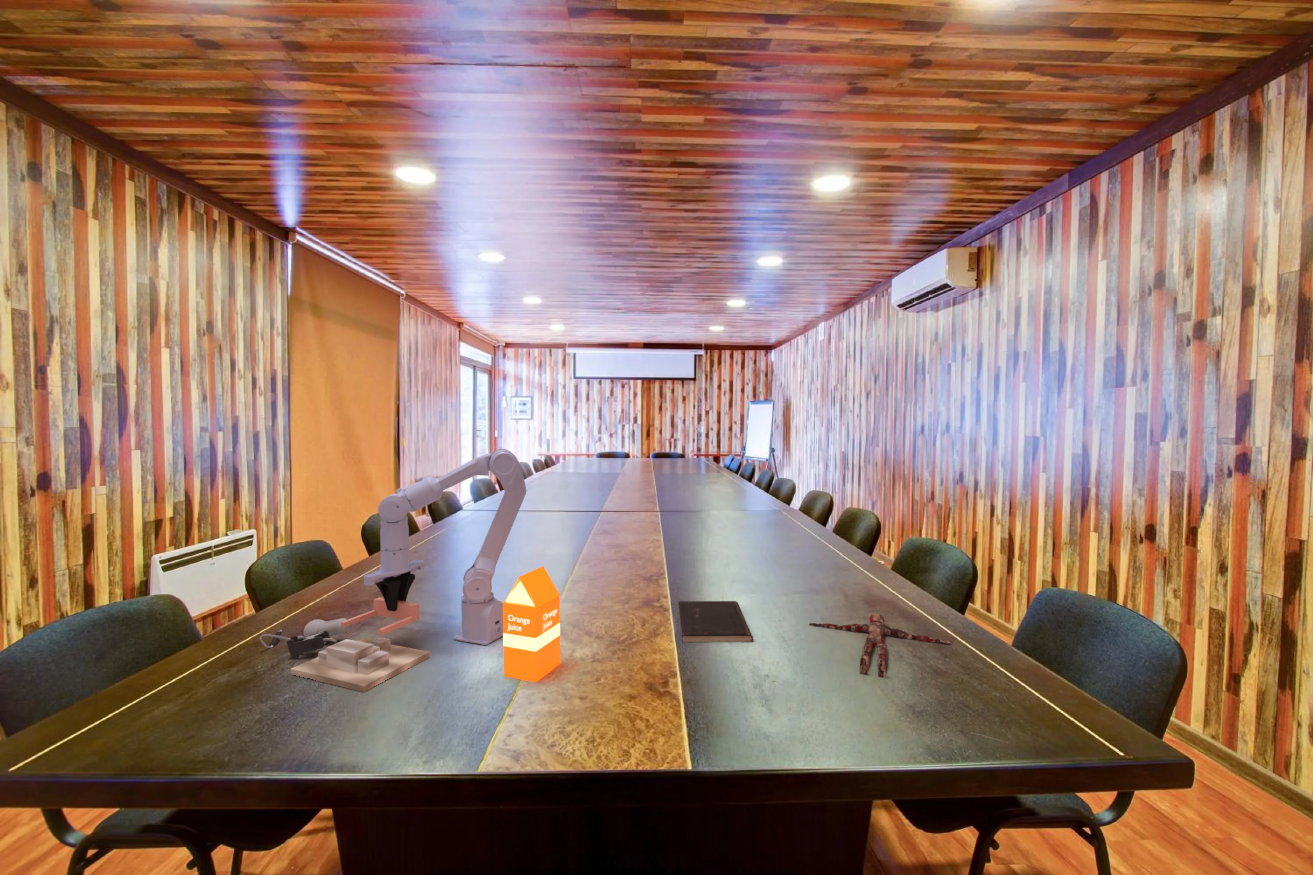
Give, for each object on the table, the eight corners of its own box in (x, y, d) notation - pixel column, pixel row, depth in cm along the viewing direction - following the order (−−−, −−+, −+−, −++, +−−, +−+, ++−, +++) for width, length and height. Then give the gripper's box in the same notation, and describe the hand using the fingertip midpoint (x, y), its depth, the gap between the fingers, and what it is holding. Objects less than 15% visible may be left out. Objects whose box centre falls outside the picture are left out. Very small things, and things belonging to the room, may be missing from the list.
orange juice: (503, 675, 107) (501, 575, 106) (529, 657, 115) (528, 564, 114) (537, 682, 104) (535, 579, 103) (561, 663, 112) (560, 567, 111)
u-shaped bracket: (379, 611, 124) (379, 597, 124) (419, 618, 120) (418, 603, 120) (341, 626, 115) (340, 610, 115) (382, 634, 111) (381, 618, 111)
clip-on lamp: (249, 670, 117) (322, 656, 114) (240, 642, 116) (313, 628, 114) (292, 643, 129) (359, 629, 126) (283, 617, 128) (351, 604, 125)
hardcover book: (681, 644, 122) (681, 634, 122) (678, 609, 145) (678, 601, 145) (752, 644, 122) (752, 634, 122) (738, 609, 145) (738, 600, 145)
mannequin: (772, 640, 125) (772, 622, 125) (847, 613, 142) (847, 596, 141) (878, 685, 103) (878, 663, 103) (951, 646, 120) (951, 627, 120)
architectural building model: (361, 643, 123) (360, 621, 123) (429, 657, 115) (429, 633, 115) (290, 674, 108) (290, 648, 108) (364, 692, 101) (363, 664, 100)
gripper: (407, 540, 129) (408, 596, 129) (352, 553, 116) (354, 617, 116) (430, 542, 126) (431, 600, 127) (376, 556, 113) (378, 621, 113)
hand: (396, 608), depth 121 cm, fingers closed on u-shaped bracket, 2 cm apart
